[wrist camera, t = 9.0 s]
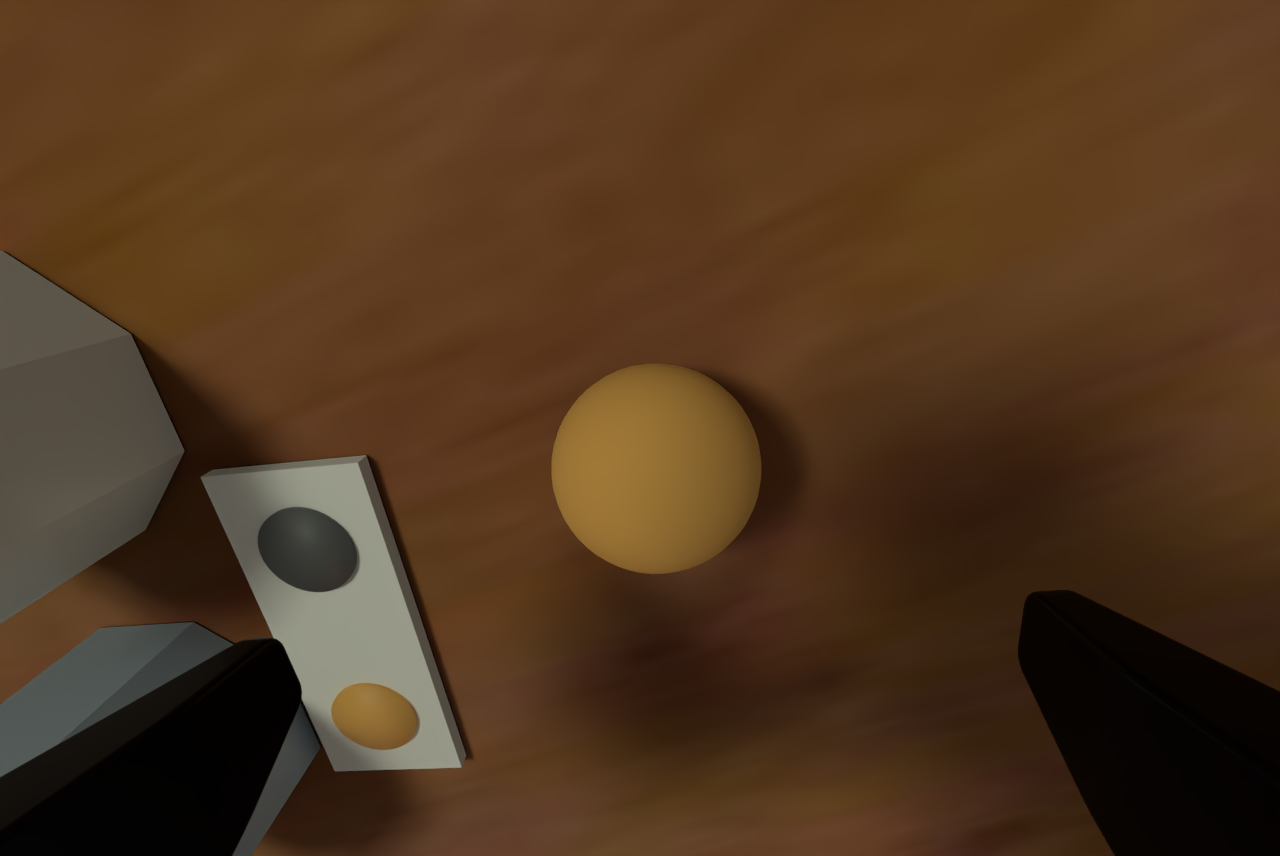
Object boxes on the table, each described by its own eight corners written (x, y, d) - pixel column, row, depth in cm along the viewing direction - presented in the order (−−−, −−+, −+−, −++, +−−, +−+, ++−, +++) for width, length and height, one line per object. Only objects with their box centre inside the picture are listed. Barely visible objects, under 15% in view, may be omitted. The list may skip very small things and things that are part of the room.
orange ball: (754, 498, 14) (781, 614, 10) (586, 511, 14) (553, 627, 10) (743, 330, 12) (771, 393, 9) (556, 350, 13) (505, 420, 9)
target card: (466, 755, 18) (459, 772, 17) (341, 759, 18) (331, 776, 18) (366, 455, 14) (354, 465, 13) (212, 469, 14) (195, 479, 14)
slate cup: (342, 793, 19) (200, 1048, 13) (144, 798, 20) (-68, 1042, 14) (261, 617, 16) (41, 844, 11) (36, 631, 17) (-277, 850, 11)
